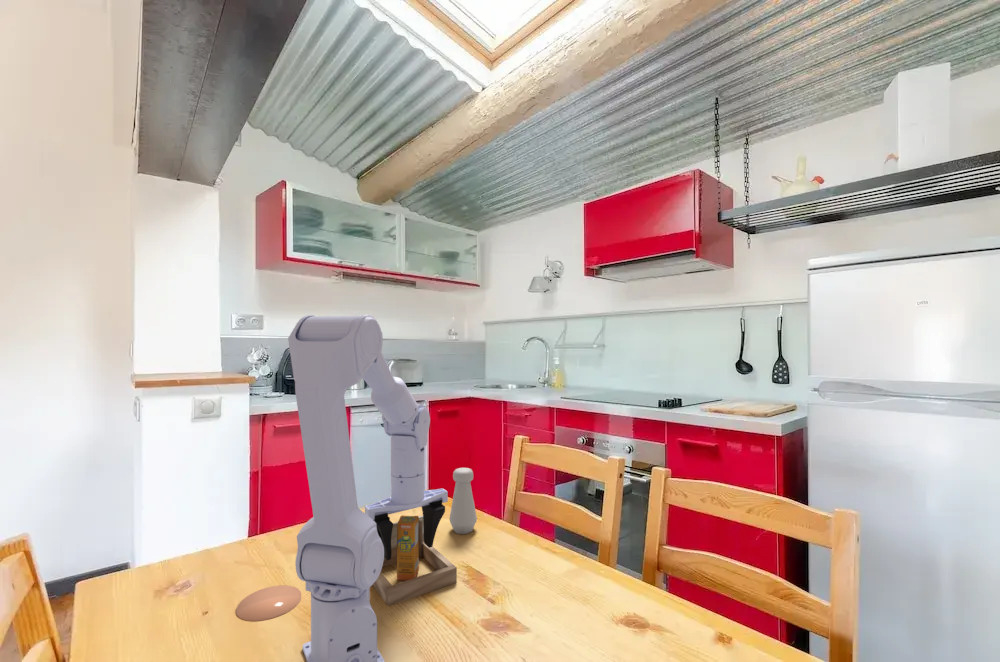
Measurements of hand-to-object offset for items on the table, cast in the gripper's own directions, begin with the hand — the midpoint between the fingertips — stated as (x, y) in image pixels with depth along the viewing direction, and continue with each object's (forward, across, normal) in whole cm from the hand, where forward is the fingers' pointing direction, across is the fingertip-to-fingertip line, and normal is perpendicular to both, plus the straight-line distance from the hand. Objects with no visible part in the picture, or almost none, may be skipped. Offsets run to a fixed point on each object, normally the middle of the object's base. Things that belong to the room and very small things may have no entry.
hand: (408, 551), depth 79 cm
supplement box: (+4, 0, 0) cm, 5 cm away
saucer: (+4, +21, -4) cm, 22 cm away
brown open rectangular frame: (+4, 0, 0) cm, 4 cm away
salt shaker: (+5, -17, -10) cm, 20 cm away
